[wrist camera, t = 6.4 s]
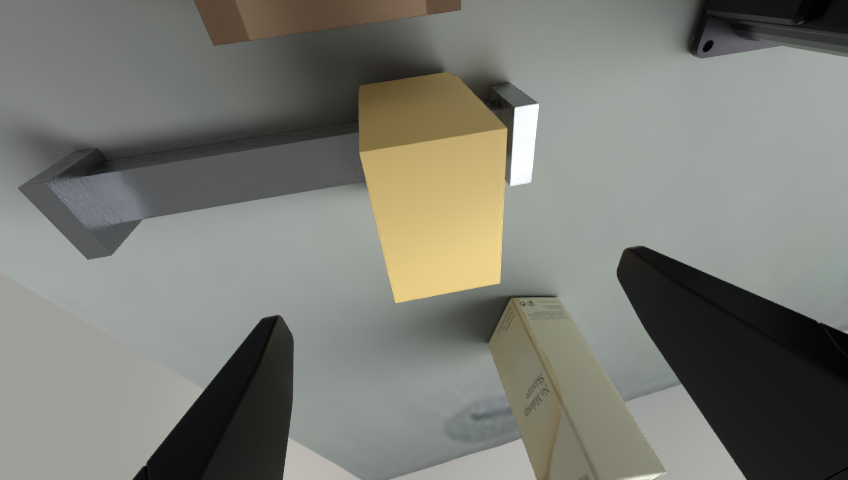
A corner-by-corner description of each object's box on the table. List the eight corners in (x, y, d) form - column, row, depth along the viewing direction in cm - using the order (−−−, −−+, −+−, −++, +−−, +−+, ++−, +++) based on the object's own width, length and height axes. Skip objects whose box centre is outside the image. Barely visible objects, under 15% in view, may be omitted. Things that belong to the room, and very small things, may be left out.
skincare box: (509, 294, 26) (597, 482, 16) (561, 295, 27) (673, 472, 17) (486, 345, 30) (547, 522, 20) (532, 344, 30) (612, 512, 21)
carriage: (448, 66, 15) (507, 128, 9) (455, 185, 19) (499, 283, 13) (358, 80, 15) (359, 152, 9) (383, 197, 19) (395, 303, 13)
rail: (510, 83, 16) (539, 103, 14) (507, 154, 18) (530, 182, 16) (73, 152, 15) (17, 188, 13) (126, 218, 17) (87, 259, 15)
